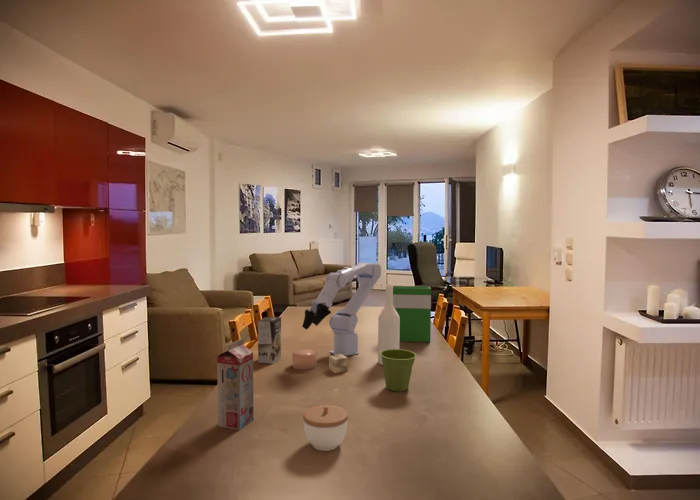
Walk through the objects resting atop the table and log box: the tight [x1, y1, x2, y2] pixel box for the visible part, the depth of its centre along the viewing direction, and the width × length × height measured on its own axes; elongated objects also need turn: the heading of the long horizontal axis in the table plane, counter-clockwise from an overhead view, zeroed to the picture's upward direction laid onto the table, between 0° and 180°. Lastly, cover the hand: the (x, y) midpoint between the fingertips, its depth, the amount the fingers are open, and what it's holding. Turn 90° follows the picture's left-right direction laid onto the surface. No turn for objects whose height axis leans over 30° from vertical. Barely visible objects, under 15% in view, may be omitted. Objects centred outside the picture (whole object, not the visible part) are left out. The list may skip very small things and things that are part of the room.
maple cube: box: [328, 354, 349, 374], centre depth 168 cm, size 5×5×5 cm
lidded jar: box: [302, 404, 349, 452], centre depth 112 cm, size 11×11×9 cm
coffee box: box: [257, 316, 282, 365], centre depth 180 cm, size 9×6×16 cm
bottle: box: [377, 283, 400, 366], centre depth 176 cm, size 8×8×30 cm
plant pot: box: [380, 348, 418, 392], centre depth 150 cm, size 12×12×11 cm
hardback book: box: [393, 285, 432, 343], centre depth 212 cm, size 18×7×24 cm, turn 85°
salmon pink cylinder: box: [291, 349, 318, 371], centre depth 173 cm, size 9×9×5 cm
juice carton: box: [216, 338, 255, 431], centre depth 123 cm, size 7×7×22 cm
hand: (309, 326), depth 170 cm, fingers open, 7 cm apart
